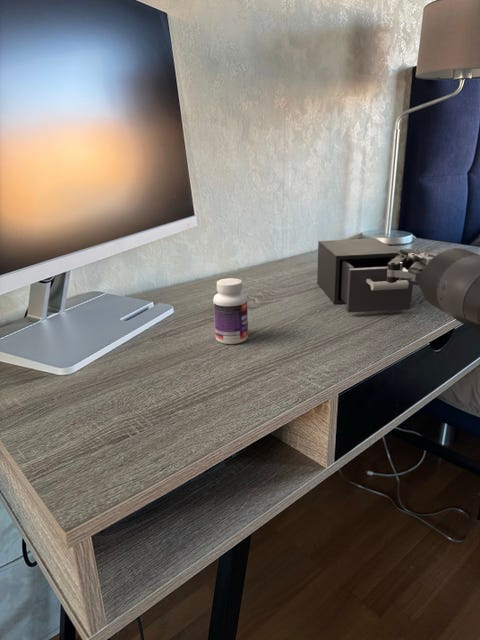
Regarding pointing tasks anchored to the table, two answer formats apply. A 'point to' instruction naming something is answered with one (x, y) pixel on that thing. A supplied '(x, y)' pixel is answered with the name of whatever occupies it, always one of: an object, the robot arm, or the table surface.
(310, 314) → the table surface
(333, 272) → the small drawer unit
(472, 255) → the robot arm
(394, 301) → the dark drawer box
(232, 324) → the pill bottle
